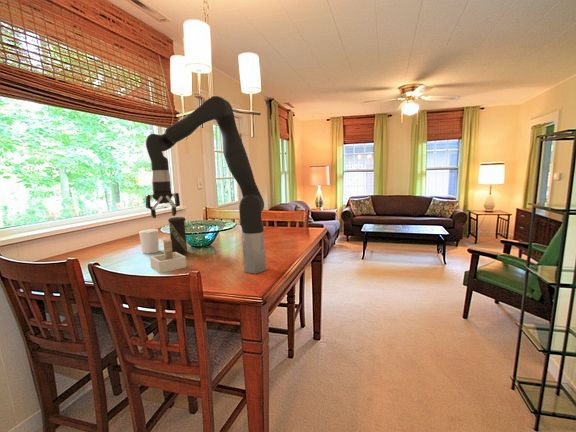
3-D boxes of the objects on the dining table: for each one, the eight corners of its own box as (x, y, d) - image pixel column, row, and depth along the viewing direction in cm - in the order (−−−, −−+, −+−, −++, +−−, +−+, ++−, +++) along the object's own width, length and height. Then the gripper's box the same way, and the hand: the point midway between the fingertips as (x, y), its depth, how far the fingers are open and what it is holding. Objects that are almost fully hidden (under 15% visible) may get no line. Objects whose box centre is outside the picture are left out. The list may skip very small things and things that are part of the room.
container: (169, 256, 157) (166, 218, 154) (171, 252, 166) (168, 216, 163) (187, 255, 159) (184, 217, 157) (188, 250, 168) (185, 215, 165)
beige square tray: (186, 267, 139) (185, 256, 138) (159, 273, 131) (158, 262, 130) (176, 261, 148) (175, 251, 147) (150, 267, 140) (149, 256, 139)
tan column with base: (178, 265, 138) (176, 239, 136) (165, 268, 134) (163, 242, 132) (173, 262, 143) (171, 237, 141) (160, 265, 139) (158, 240, 137)
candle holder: (155, 253, 163) (153, 232, 161) (137, 254, 163) (135, 232, 162) (163, 249, 173) (161, 228, 171) (146, 249, 173) (144, 229, 171)
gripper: (146, 181, 126) (150, 219, 128) (180, 180, 135) (183, 215, 138) (141, 181, 132) (145, 217, 134) (174, 180, 141) (176, 214, 143)
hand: (164, 216), depth 136 cm, fingers open, 8 cm apart
